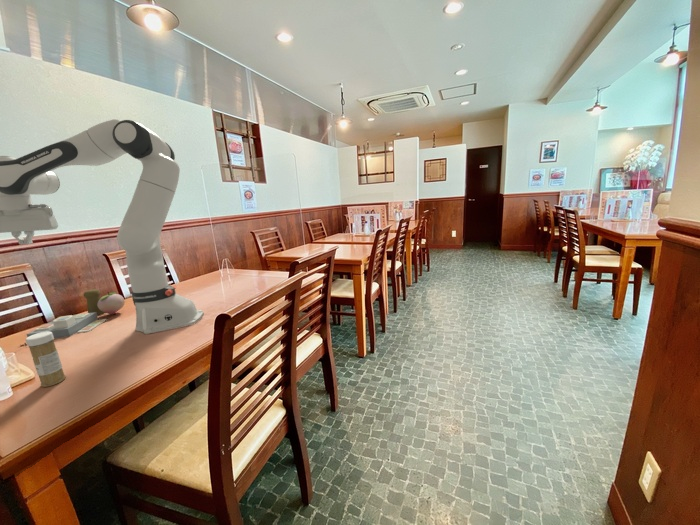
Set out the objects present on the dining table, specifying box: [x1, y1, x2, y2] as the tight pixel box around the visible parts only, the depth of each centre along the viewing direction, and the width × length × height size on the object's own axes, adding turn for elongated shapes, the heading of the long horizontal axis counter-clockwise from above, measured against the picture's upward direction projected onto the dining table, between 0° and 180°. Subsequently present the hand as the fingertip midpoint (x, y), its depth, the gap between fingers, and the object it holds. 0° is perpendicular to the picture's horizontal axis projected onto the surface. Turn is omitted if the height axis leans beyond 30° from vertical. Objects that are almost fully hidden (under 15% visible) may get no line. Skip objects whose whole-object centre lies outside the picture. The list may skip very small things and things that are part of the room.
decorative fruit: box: [97, 291, 126, 315], centre depth 118 cm, size 9×8×10 cm
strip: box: [76, 318, 108, 334], centre depth 107 cm, size 4×11×1 cm, turn 14°
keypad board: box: [26, 312, 99, 339], centre depth 105 cm, size 12×16×3 cm
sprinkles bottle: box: [25, 331, 67, 388], centre depth 70 cm, size 5×5×14 cm
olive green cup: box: [83, 288, 104, 317], centre depth 119 cm, size 6×6×11 cm
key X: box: [52, 315, 76, 329], centre depth 101 cm, size 4×4×4 cm
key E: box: [74, 312, 90, 319], centre depth 109 cm, size 4×4×4 cm
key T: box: [34, 323, 54, 331], centre depth 100 cm, size 4×4×4 cm
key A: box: [52, 314, 74, 321], centre depth 108 cm, size 4×4×4 cm
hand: (26, 244), depth 100 cm, fingers closed
